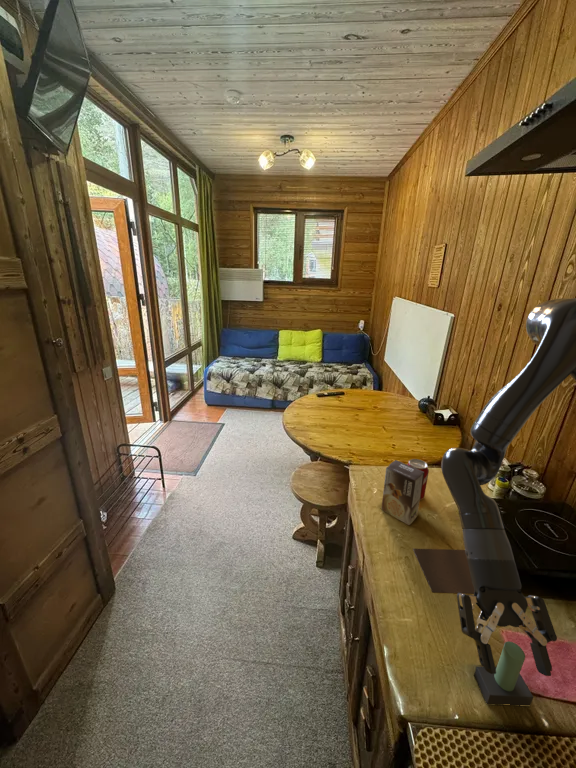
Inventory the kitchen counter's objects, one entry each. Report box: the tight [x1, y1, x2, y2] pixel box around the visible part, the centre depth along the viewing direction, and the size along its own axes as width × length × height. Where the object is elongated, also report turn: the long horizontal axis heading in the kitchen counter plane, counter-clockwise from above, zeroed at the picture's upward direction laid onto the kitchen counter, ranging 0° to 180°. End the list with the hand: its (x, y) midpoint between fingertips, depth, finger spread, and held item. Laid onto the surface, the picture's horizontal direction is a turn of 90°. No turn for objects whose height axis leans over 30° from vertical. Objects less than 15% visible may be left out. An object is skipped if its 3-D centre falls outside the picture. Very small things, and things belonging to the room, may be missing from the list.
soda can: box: [406, 458, 430, 501], centre depth 100 cm, size 7×7×12 cm
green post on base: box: [473, 640, 534, 707], centre depth 51 cm, size 4×7×10 cm, turn 88°
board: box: [412, 547, 474, 595], centre depth 74 cm, size 18×12×2 cm, turn 89°
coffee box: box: [381, 459, 424, 526], centre depth 90 cm, size 9×6×16 cm
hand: (517, 673), depth 49 cm, fingers open, 8 cm apart
